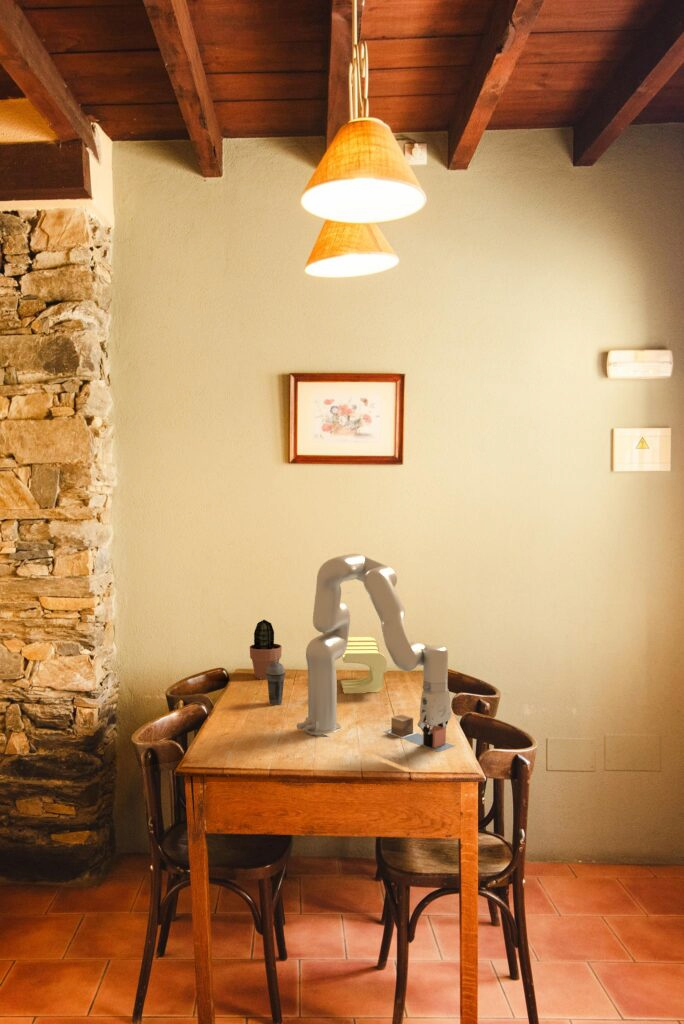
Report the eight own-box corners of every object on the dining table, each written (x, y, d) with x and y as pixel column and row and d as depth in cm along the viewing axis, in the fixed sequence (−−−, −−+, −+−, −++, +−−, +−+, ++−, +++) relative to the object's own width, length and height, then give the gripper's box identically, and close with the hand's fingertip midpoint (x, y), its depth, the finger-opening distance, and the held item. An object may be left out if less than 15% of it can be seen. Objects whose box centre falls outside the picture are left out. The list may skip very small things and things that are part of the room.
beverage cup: (285, 700, 273) (285, 648, 272) (284, 706, 266) (285, 653, 265) (266, 700, 273) (266, 648, 272) (265, 706, 265) (265, 653, 265)
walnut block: (402, 736, 231) (402, 721, 231) (391, 732, 235) (391, 717, 235) (413, 733, 234) (413, 718, 234) (401, 729, 238) (401, 714, 238)
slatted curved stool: (386, 698, 276) (386, 652, 276) (345, 699, 275) (345, 653, 275) (377, 678, 306) (377, 636, 306) (339, 678, 305) (340, 637, 305)
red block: (435, 747, 221) (435, 731, 221) (422, 743, 225) (423, 727, 224) (445, 744, 224) (445, 728, 224) (433, 739, 228) (433, 724, 228)
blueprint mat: (439, 755, 218) (439, 751, 218) (383, 734, 236) (383, 731, 236) (455, 749, 223) (455, 745, 223) (399, 729, 241) (399, 726, 241)
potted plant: (287, 675, 310) (288, 618, 309) (268, 682, 298) (268, 623, 298) (263, 671, 317) (263, 615, 316) (243, 678, 306) (243, 619, 305)
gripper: (426, 693, 215) (425, 753, 216) (462, 683, 227) (460, 740, 227) (407, 688, 221) (406, 746, 221) (443, 678, 232) (442, 734, 233)
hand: (434, 743), depth 224 cm, fingers closed on red block, 4 cm apart
